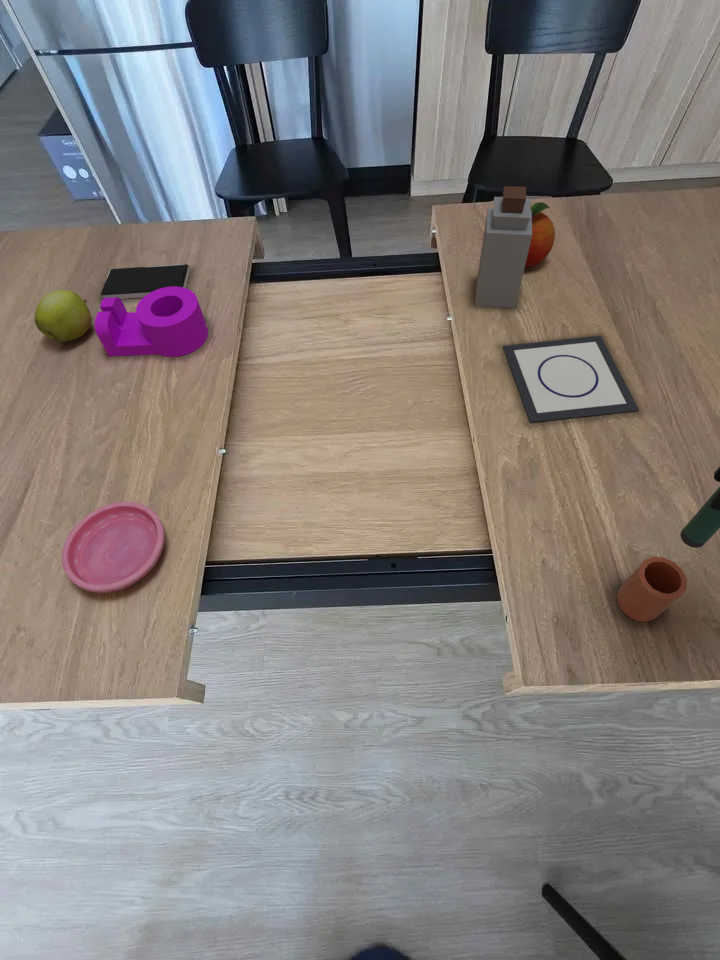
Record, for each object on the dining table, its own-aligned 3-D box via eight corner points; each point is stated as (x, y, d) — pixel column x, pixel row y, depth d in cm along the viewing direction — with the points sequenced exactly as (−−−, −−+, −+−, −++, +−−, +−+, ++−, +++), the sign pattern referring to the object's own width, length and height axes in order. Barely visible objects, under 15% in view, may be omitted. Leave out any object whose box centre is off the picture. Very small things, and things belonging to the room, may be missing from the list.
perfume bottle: (515, 308, 94) (538, 206, 79) (475, 305, 95) (490, 203, 80) (515, 283, 98) (537, 181, 83) (476, 281, 99) (492, 179, 84)
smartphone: (110, 268, 104) (188, 263, 103) (112, 273, 105) (190, 268, 104) (99, 295, 99) (182, 290, 99) (102, 301, 100) (184, 296, 100)
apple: (110, 323, 96) (90, 284, 90) (75, 357, 92) (51, 319, 85) (76, 312, 99) (53, 273, 92) (40, 345, 94) (13, 307, 87)
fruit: (485, 253, 103) (493, 200, 95) (528, 238, 105) (540, 186, 97) (514, 281, 98) (525, 229, 90) (558, 266, 100) (574, 213, 92)
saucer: (64, 537, 73) (52, 525, 70) (156, 498, 76) (147, 485, 73) (83, 617, 66) (71, 608, 64) (182, 572, 69) (174, 561, 67)
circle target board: (600, 336, 89) (601, 334, 89) (638, 411, 80) (639, 409, 80) (502, 347, 89) (503, 345, 89) (529, 423, 80) (530, 421, 80)
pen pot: (650, 580, 66) (675, 553, 60) (667, 619, 63) (695, 596, 57) (610, 584, 66) (631, 558, 60) (625, 624, 63) (649, 601, 57)
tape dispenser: (211, 315, 96) (201, 285, 91) (203, 355, 91) (192, 325, 86) (121, 319, 97) (106, 289, 92) (107, 359, 91) (90, 330, 86)
